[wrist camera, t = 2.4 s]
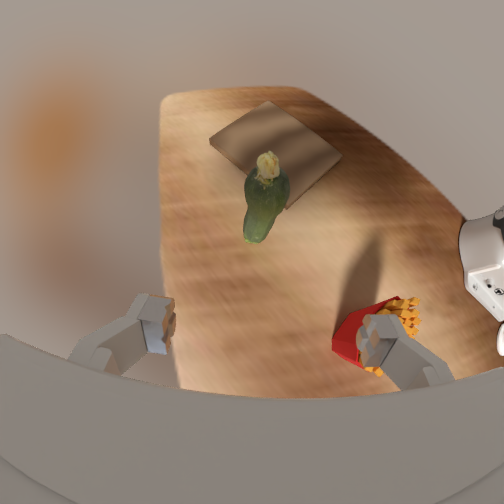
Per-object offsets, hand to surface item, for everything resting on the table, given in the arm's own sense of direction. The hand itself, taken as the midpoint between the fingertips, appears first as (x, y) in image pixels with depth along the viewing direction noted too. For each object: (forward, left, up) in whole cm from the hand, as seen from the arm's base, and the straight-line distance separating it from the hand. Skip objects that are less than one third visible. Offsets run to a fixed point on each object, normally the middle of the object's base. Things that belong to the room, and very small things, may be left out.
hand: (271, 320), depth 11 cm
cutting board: (+16, -23, -25) cm, 37 cm away
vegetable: (+8, -10, -25) cm, 28 cm away
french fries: (-11, -9, -25) cm, 29 cm away
